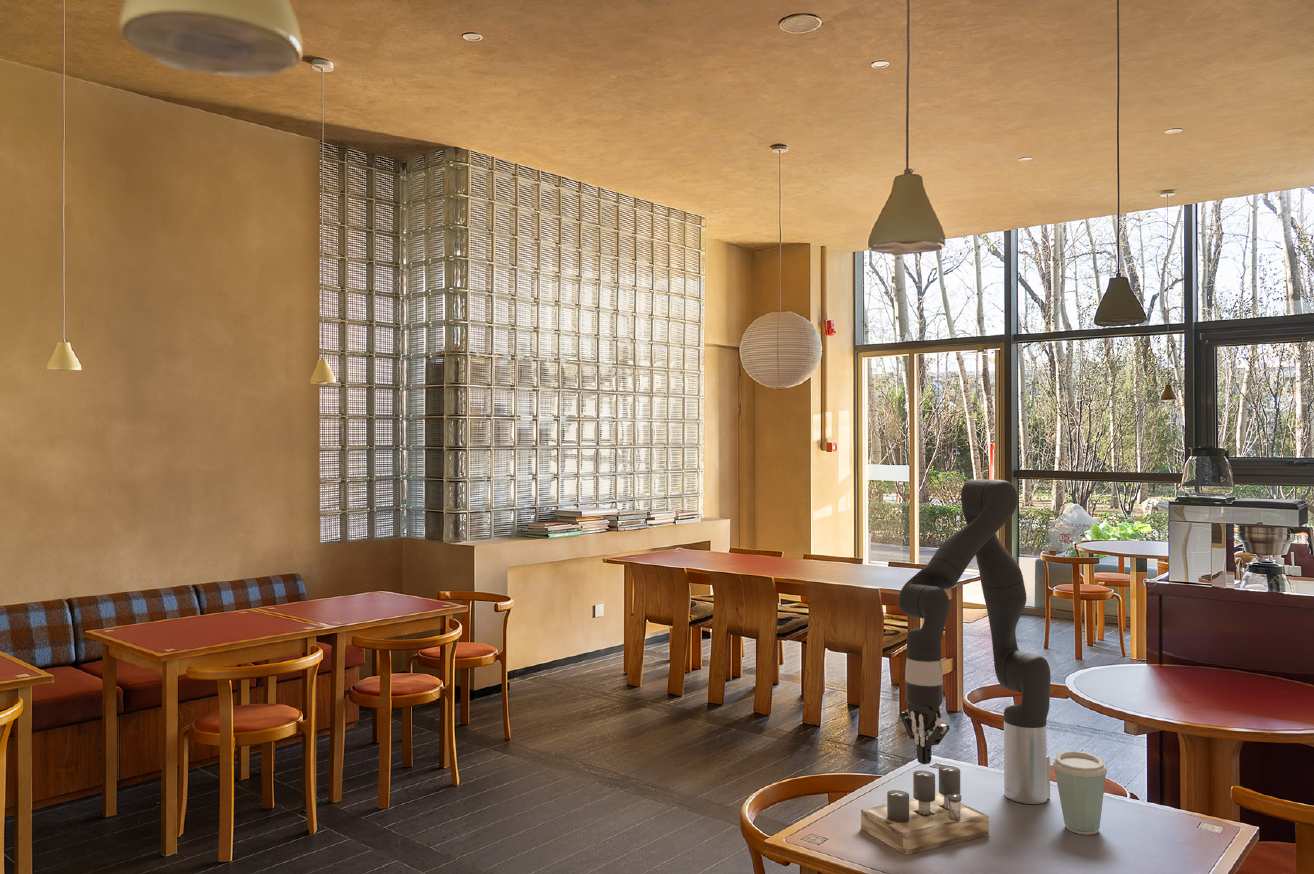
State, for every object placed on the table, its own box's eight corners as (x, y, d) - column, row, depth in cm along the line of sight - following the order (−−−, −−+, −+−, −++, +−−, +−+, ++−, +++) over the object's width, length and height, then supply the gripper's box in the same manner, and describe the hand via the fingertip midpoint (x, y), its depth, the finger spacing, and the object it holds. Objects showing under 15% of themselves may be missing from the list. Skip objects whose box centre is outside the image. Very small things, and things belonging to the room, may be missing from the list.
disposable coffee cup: (1115, 841, 185) (1114, 767, 185) (1059, 836, 187) (1058, 763, 187) (1100, 821, 195) (1099, 751, 195) (1047, 817, 197) (1047, 748, 198)
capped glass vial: (954, 814, 188) (954, 792, 188) (964, 819, 186) (964, 796, 186) (944, 817, 187) (944, 794, 187) (954, 821, 184) (954, 798, 184)
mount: (940, 811, 200) (940, 793, 200) (988, 835, 188) (988, 815, 188) (861, 828, 191) (861, 809, 191) (906, 854, 178) (906, 834, 178)
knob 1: (899, 827, 189) (899, 787, 189) (913, 835, 185) (913, 794, 185) (882, 830, 187) (882, 791, 187) (897, 838, 183) (897, 798, 183)
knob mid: (925, 807, 192) (924, 768, 192) (939, 814, 188) (939, 774, 188) (909, 810, 190) (908, 771, 190) (923, 817, 186) (923, 778, 186)
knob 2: (949, 801, 195) (949, 763, 195) (965, 808, 191) (964, 770, 191) (934, 805, 193) (934, 766, 193) (949, 812, 189) (949, 773, 190)
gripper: (960, 685, 186) (960, 770, 185) (915, 671, 198) (915, 751, 197) (932, 688, 182) (932, 775, 182) (888, 674, 194) (888, 756, 194)
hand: (923, 762), depth 189 cm, fingers closed
